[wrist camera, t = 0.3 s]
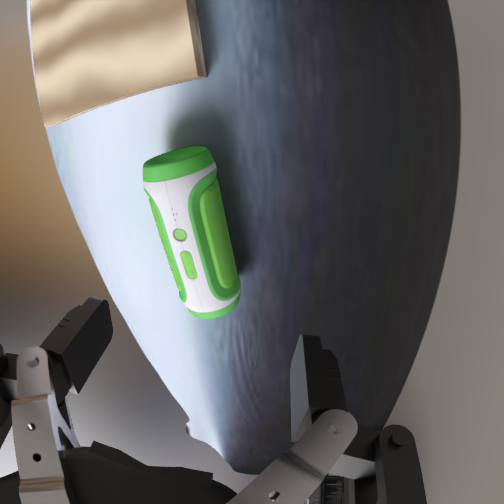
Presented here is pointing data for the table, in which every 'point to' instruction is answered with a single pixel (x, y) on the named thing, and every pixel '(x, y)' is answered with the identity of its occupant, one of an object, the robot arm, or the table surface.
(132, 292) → the table surface
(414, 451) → the robot arm
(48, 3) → the wooden tray board
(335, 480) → the graphics card box
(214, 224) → the speaker
